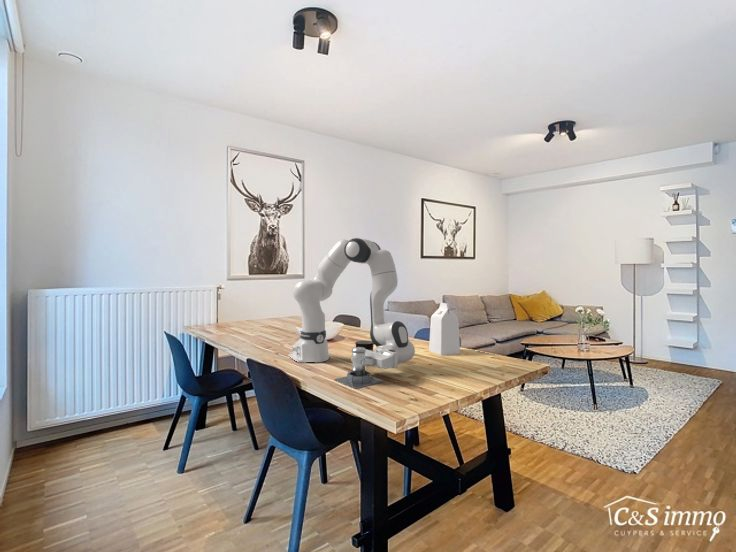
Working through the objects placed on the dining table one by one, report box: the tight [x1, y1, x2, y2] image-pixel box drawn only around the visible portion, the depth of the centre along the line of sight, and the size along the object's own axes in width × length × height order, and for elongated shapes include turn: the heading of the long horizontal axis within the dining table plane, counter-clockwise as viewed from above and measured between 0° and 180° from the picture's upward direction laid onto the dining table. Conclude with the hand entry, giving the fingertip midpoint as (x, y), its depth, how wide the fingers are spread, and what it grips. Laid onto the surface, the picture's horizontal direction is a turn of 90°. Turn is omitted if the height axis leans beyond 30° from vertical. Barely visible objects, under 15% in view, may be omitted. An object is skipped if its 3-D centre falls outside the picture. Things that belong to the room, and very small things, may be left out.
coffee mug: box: [354, 339, 377, 351], centre depth 183 cm, size 12×9×10 cm
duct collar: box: [333, 370, 385, 390], centre depth 154 cm, size 14×14×3 cm
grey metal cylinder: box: [351, 346, 366, 376], centre depth 154 cm, size 5×5×11 cm
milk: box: [428, 302, 461, 356], centre depth 206 cm, size 12×12×26 cm
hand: (357, 361), depth 154 cm, fingers closed on grey metal cylinder, 5 cm apart
